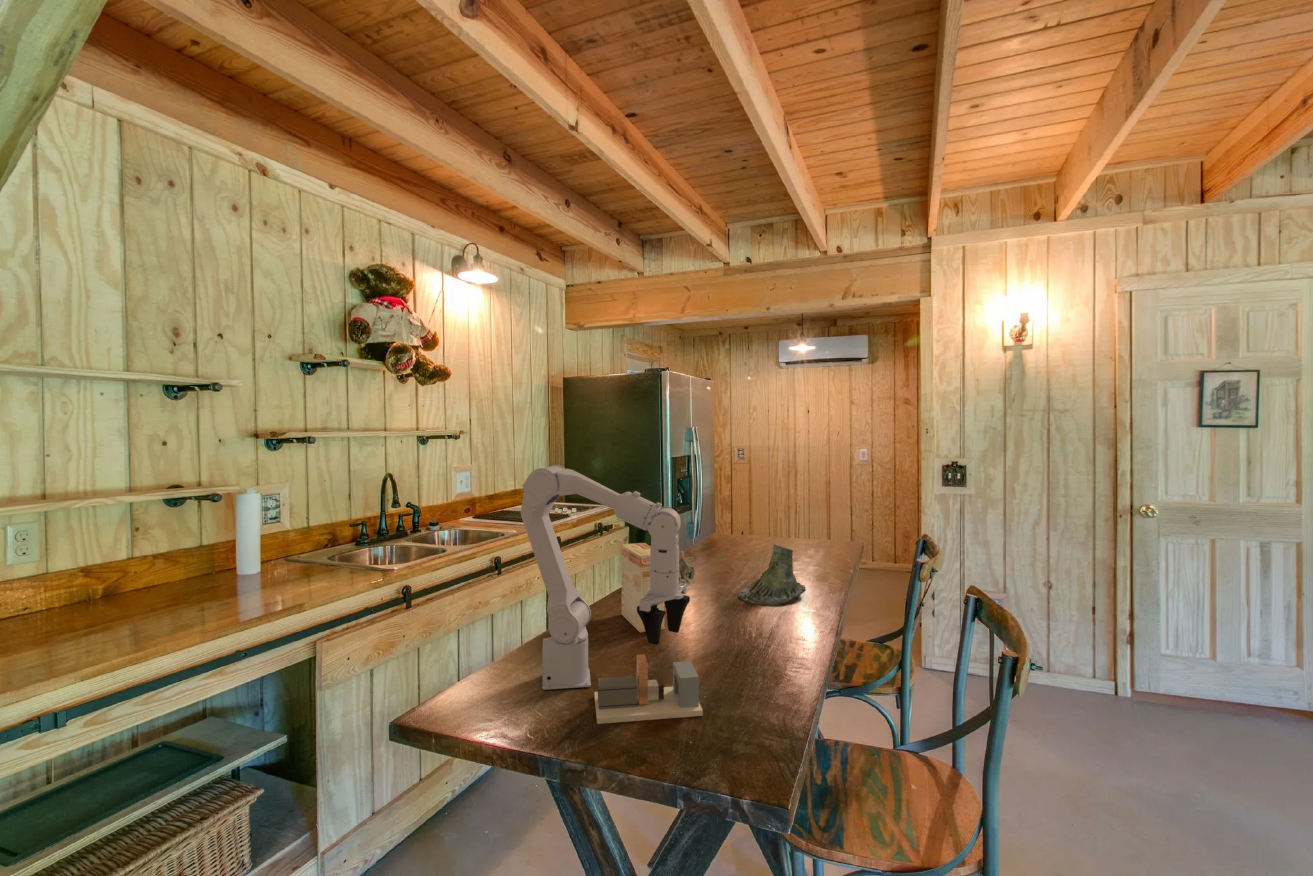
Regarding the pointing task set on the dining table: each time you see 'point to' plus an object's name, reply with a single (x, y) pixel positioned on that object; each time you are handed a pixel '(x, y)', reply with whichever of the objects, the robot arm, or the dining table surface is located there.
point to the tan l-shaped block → (647, 683)
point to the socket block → (686, 684)
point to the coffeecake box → (635, 581)
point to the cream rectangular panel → (635, 703)
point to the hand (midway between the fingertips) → (663, 637)
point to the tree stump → (775, 581)
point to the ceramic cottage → (686, 570)
